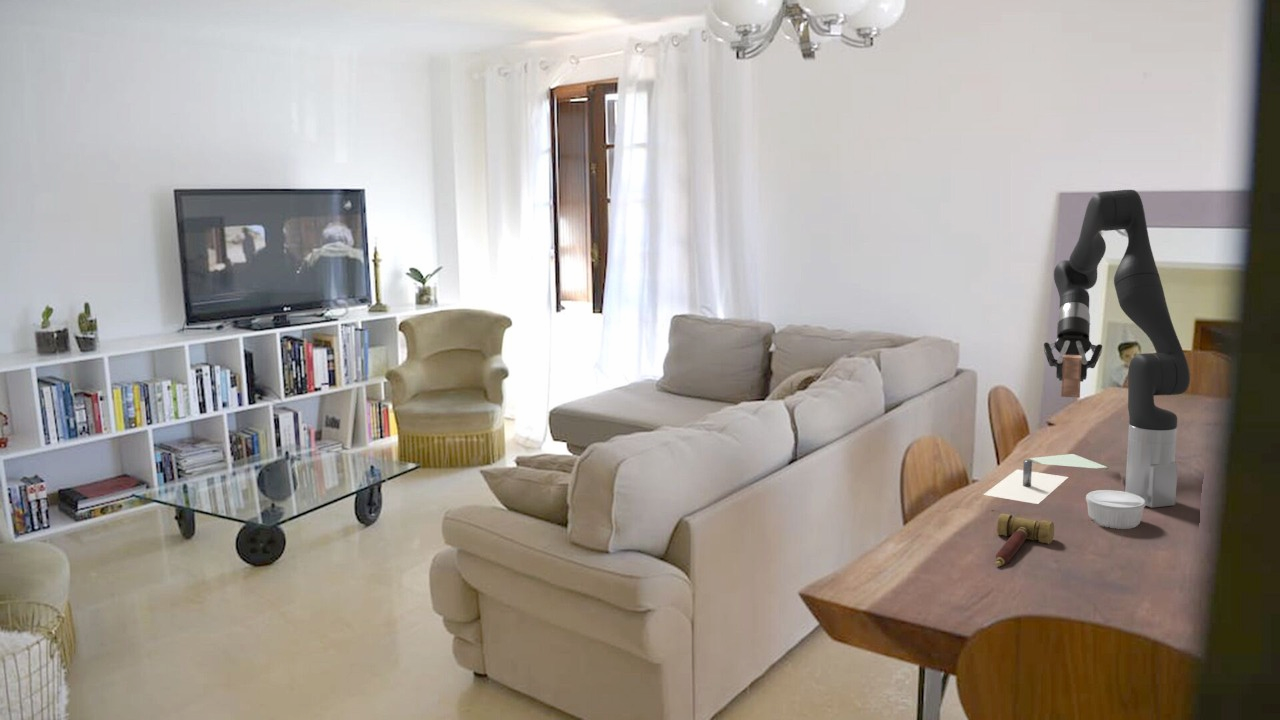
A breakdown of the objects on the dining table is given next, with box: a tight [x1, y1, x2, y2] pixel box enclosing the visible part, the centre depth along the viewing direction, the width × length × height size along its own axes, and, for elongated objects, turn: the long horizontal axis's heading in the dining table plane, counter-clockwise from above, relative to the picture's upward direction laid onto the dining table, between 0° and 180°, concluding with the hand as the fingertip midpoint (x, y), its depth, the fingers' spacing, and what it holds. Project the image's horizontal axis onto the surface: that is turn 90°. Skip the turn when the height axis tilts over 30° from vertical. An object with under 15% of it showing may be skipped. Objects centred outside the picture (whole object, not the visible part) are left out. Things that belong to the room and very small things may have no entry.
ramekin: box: [1085, 489, 1146, 530], centre depth 196 cm, size 11×11×5 cm
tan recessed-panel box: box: [1060, 355, 1082, 399], centre depth 234 cm, size 4×4×10 cm
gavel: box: [995, 513, 1055, 568], centre depth 183 cm, size 21×5×10 cm
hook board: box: [982, 459, 1069, 505], centre depth 218 cm, size 24×12×7 cm, turn 141°
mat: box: [1028, 453, 1109, 470], centre depth 238 cm, size 13×13×1 cm
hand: (1071, 379), depth 232 cm, fingers closed on tan recessed-panel box, 4 cm apart
